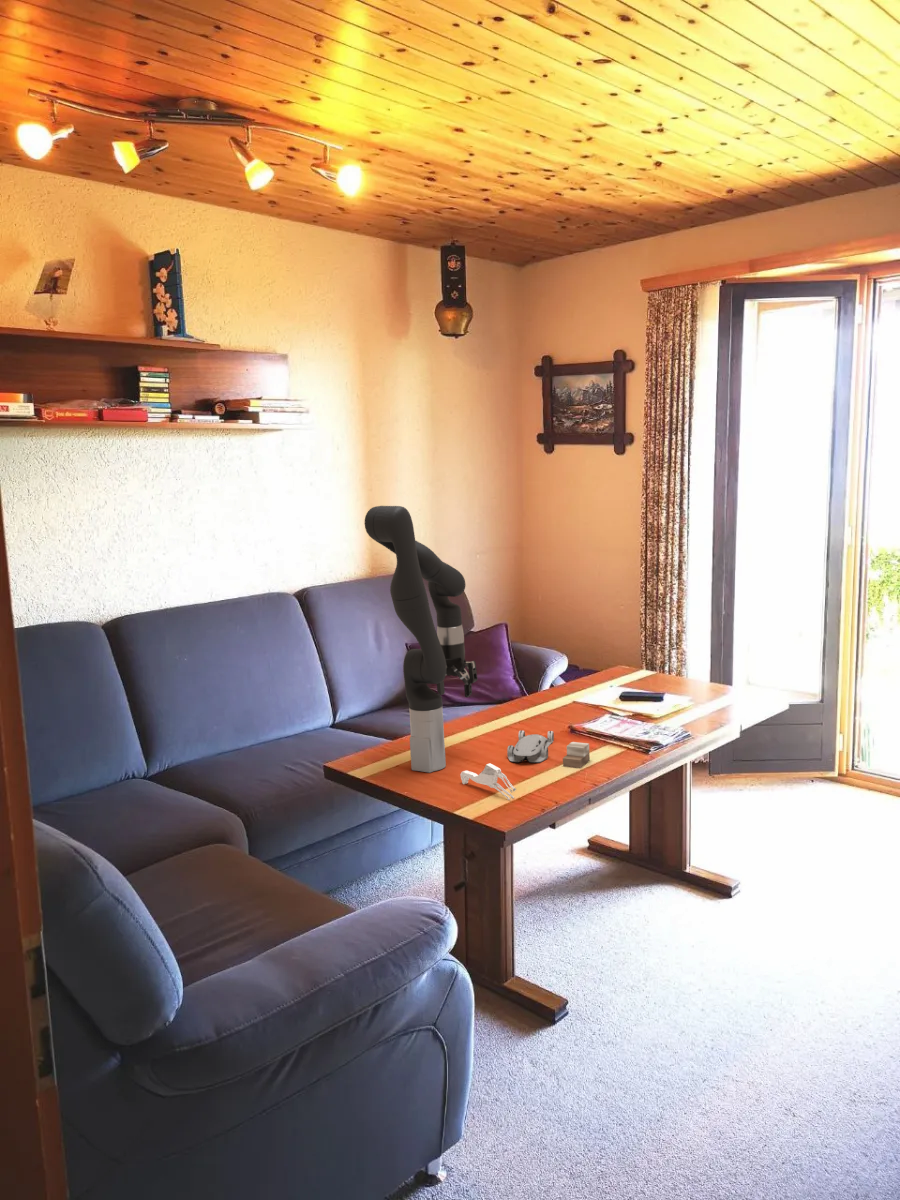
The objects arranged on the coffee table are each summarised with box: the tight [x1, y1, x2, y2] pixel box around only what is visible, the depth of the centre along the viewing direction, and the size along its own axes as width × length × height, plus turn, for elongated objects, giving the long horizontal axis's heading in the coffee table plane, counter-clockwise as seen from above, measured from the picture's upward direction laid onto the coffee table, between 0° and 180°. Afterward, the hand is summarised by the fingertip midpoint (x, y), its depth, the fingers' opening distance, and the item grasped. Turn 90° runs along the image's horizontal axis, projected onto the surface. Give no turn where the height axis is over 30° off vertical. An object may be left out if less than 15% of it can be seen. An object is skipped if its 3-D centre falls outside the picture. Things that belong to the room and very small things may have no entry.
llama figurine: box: [459, 762, 517, 801], centre depth 235 cm, size 2×11×18 cm
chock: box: [562, 741, 591, 769], centre depth 253 cm, size 7×5×5 cm
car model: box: [506, 729, 555, 764], centre depth 265 cm, size 11×24×5 cm, turn 166°
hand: (454, 695), depth 265 cm, fingers open, 8 cm apart
